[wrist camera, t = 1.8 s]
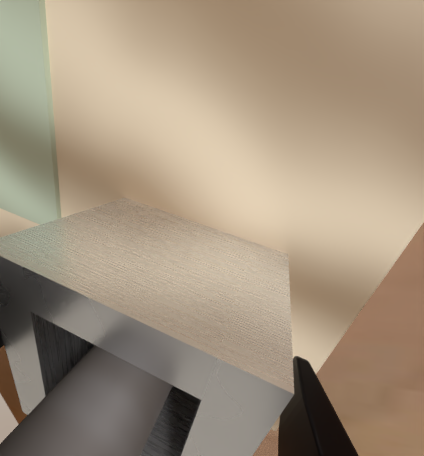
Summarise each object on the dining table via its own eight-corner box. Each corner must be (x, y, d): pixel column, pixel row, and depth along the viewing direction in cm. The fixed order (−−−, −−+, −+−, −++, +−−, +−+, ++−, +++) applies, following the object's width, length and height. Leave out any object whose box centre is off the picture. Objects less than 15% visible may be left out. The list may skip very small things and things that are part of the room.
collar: (236, 370, 10) (203, 527, 6) (118, 314, 11) (22, 411, 7) (288, 254, 7) (294, 393, 3) (125, 197, 8) (-24, 245, 4)
